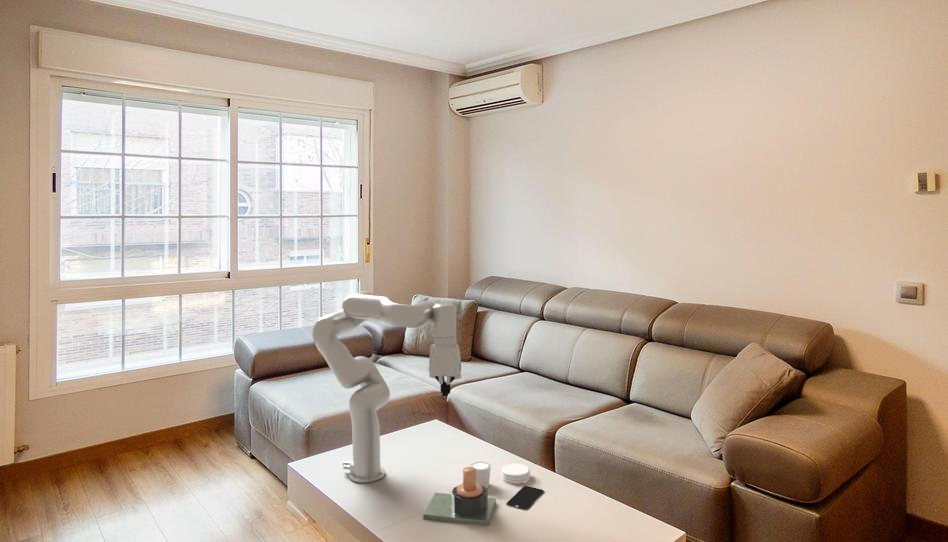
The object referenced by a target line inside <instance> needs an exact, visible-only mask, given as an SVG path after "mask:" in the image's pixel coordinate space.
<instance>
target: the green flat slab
mask: <svg viewBox="0 0 948 542" xmlns="http://www.w3.org/2000/svg"><path fill="white" fill-rule="evenodd" d="M459 485H460V484H458V485H457V486H455V487H453V489H452V491H451V493H443V492H442V493H440V492H435V493H434V494H433V496H432V498H431V499H430V501H429V502H428V505H427V507H426V508H425V510H424V512H423V514H422V519H423V520H431V521H437V522H438V521H440V522H441V521H442V522H449V523H450V522H451V523H461V524H470V525H477V526H478V525H479V526H486V527H487V526H489V524H490V521H491V520H492V515H493V512H494V509H495V506H496V501H497V499H496V498H495V497H489V491H488V490H487V488H485V487H484V486H482V488H483V492H482V494H481V495H480V496H477V497H473V498H465V497H462V496H459V495H458V494H457V487H458V486H459Z"/></svg>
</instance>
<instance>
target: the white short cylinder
mask: <svg viewBox="0 0 948 542" xmlns="http://www.w3.org/2000/svg"><path fill="white" fill-rule="evenodd" d="M501 479H502V481H503V482H505V483H508V484H511V483H512V484H513V485H521V484H520V483H523V484H525V483H524V482H526V481H527V482H529V481H530V480H531V469H530V467H529V466H527V465H525V464H522V463H512V462H511V463H508V464H505V465H504V466H502V468H501ZM528 480H529V481H528ZM527 482H526V483H527Z"/></svg>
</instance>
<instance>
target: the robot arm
mask: <svg viewBox="0 0 948 542" xmlns="http://www.w3.org/2000/svg"><path fill="white" fill-rule="evenodd" d="M341 308H342V309H341V310H339V311H335V312H331V313H328V314H325V315H323V316H321V317H319V319H317V320H316V321H315V323H314V325H313V328H312V339H313V343H314V345H315V347H316V349H317V350H318V351H319V353H320V354H321V355H322V357H323V358H324V360H325V361H326V363H327V365H328V367H329V369H330V370H331V372H332V373H333V375H334V377H335V379H336V380H337V382H338V383H339V385H340V386H341V387H342V388H344V389H346V390H351V389H353V388H356V387H358V386H359V387H360V388H359V389H357V390H355V391H354V392H353V393H352V395H351V396H350V397H349V399H348V400H349V401H348V408H349V415H350V418H351V431H352V432H351V434H352V436H351V438H352V439H351V440H352V441H351V442H352V461H347V460H344V461H342V467H343V470H349V472H348V478H349V480H351V481H352V482H354V483H361V484H362V483H363V484H365V483H373V482H376V481H379V480H381V479H382V478H384V477H385V474H386V470H385V468H384V467H383V466H382V465H381V439H380V438H381V433H380V432H381V430H380V421H379V418H378V415H377V411H378V410H380V409H382V407H384V406H386V405H387V404H388V402H389V401H390V398H391V397H390V396H391V392H390V388H389V386H388V384H387V382H386V381H385V379H384V377H383V376H382V374H381V373H380V371H379V369H378V368H377V366H376V365H375V363H374V362H373V361H372V359H370V358H369V357H366V356H364V355H363V356H362V355H359V356H355V357H354V356H353V355H352V354H351V352H350V350H349V349H348V347H347V346H346V345H345V344H344V343H343V342H342V341H340V340H339V338H338V337H339V336H344V335H345V334H349V333H351V332H352V331H354V330H355V329H357V328H358V327H359V326H360V325H362V323H363V322H365V321H366V320H369V321H378V322H384V323H385V324H388V325H391V326H395V327H400V328H401V327H402V328H409V329H417V328H421V327H423V326H426V325H429V324H432V323H433V324H432V325H433V335H432V336H430V337H429V340H428V341H430V342H432V344H431V345H430V349H429V350H430V351H429V359H428V361H429V362H428V372H429V375H428V376H429V377H430V378H432V379H435V380H436V381H437V382H438V383H439V385H440V394H441V396H442V397H448V396H449V395H450V394H451V383H452V382H454V381H455V380H459V379H461V378H462V377H463V376H462V373H461V371H462V361H461V360H462V359H461V352H460V347H459V344H458V343H457V306H456V305H455V304H454V303H450V302H441V303H440V302H436V301H435V302H434V301H429V300H426V301H425V300H424V301H421V302H418V303H415V304H403V303H396V302H393V301H392V300H391V298H390V297H389V296H383V295H375V294H374V293H373V292H371V291H368V290H363V291H357V292H354V293H351V294H348V295H347V296H346V297H345V298H344V299H343V300H342V305H341ZM445 377H446V379H445ZM445 380H446V381H445Z"/></svg>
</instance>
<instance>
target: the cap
mask: <svg viewBox="0 0 948 542" xmlns="http://www.w3.org/2000/svg"><path fill="white" fill-rule="evenodd" d="M462 481H463V482H462V483H460V484H458V485H459V486H458V485H457V486H458V487H457V494H458V495H459V496H462V497H465V498H473V497H477V496H480V495H481V494H482V492H483V488H482V486H481V485H479V484H477V483H476V469H475V468H473V467H471V466H467V467H464V468H463V469H462Z"/></svg>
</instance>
